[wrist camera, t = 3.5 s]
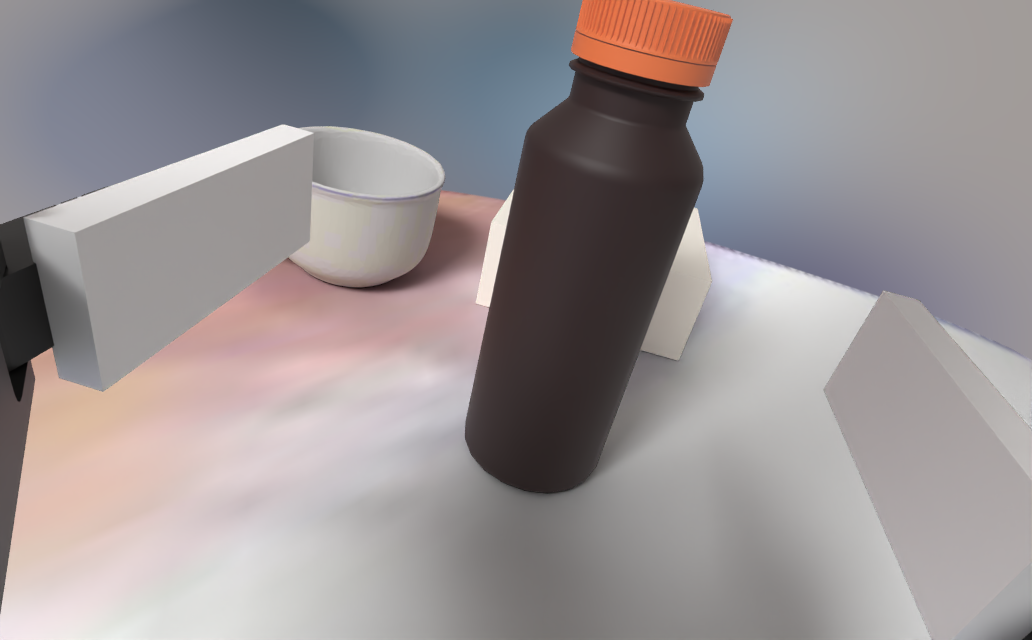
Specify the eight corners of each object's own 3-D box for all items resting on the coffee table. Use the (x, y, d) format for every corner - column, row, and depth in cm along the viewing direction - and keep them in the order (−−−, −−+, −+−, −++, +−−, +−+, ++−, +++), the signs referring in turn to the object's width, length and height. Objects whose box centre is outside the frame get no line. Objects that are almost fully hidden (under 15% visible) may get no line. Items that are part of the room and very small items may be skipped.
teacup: (415, 235, 48) (427, 135, 43) (445, 308, 39) (464, 193, 35) (220, 226, 42) (214, 111, 38) (207, 308, 34) (197, 172, 30)
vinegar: (437, 454, 28) (526, -33, 18) (499, 383, 33) (595, -19, 23) (569, 521, 26) (754, 23, 16) (612, 434, 32) (770, 24, 21)
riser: (672, 273, 51) (697, 208, 48) (678, 360, 39) (711, 281, 36) (516, 230, 52) (530, 164, 49) (475, 303, 40) (491, 221, 37)
